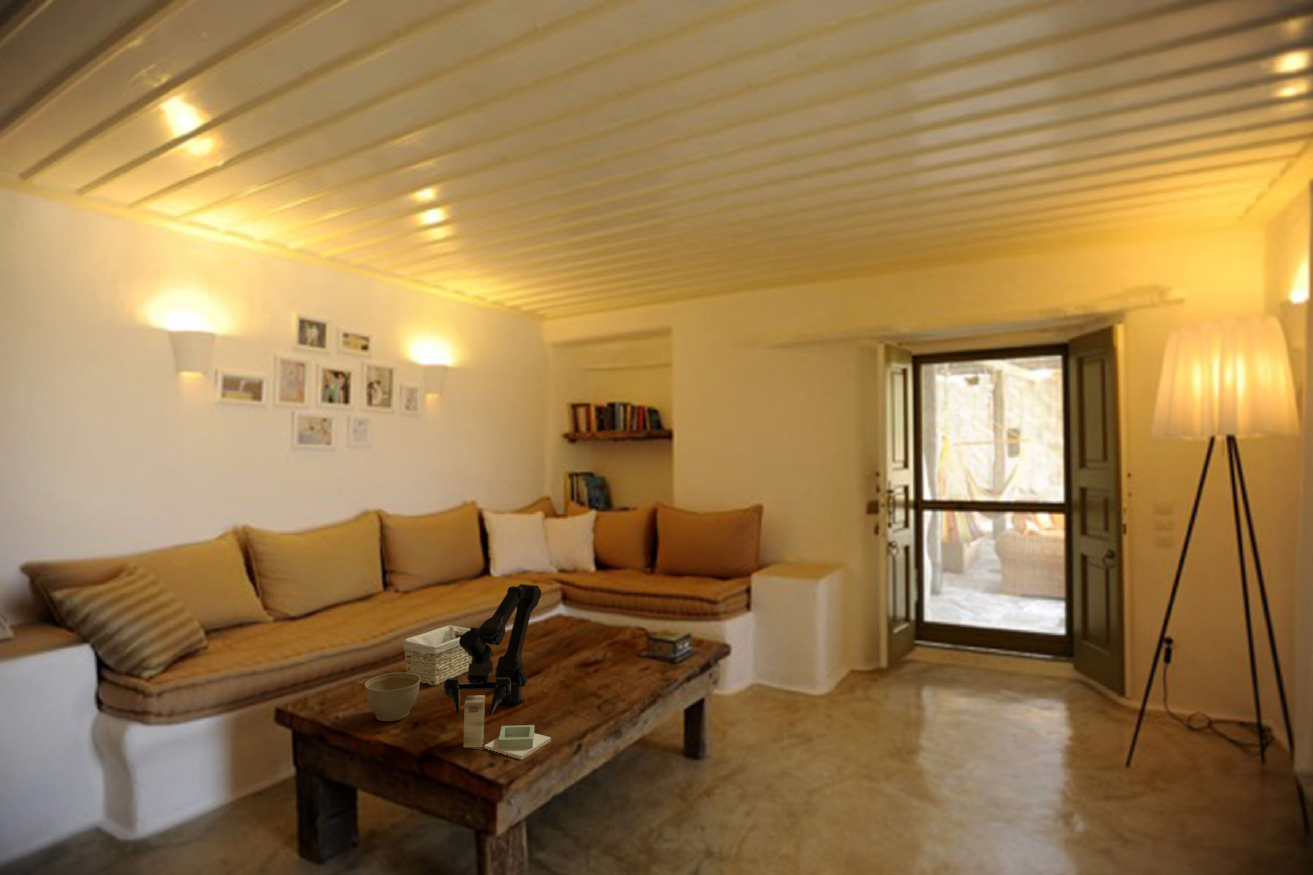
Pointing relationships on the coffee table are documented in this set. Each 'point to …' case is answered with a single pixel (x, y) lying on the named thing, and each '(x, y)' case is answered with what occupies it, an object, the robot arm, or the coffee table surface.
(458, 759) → the coffee table surface
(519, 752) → the board
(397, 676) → the planter bowl
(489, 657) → the robot arm
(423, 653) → the storage basket
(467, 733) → the birch cabinet block
